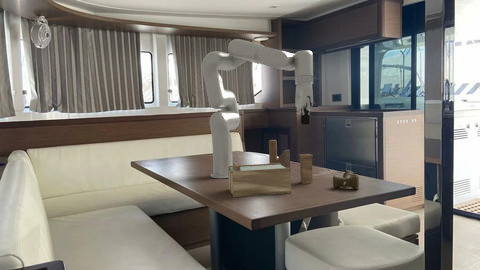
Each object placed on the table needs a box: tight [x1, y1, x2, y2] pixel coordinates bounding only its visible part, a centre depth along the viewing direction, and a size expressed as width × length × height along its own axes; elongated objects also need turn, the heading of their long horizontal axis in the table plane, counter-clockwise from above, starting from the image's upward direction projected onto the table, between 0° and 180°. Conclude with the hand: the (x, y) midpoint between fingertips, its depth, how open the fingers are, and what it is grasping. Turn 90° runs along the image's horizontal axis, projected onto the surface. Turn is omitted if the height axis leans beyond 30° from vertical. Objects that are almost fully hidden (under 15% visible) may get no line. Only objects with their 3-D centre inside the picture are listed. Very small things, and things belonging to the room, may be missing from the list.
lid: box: [230, 162, 285, 171], centre depth 144 cm, size 11×21×3 cm, turn 99°
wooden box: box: [228, 163, 292, 198], centre depth 144 cm, size 14×22×10 cm, turn 99°
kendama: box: [332, 170, 360, 191], centre depth 147 cm, size 6×10×20 cm
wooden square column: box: [298, 153, 314, 185], centre depth 158 cm, size 5×5×12 cm
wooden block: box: [268, 139, 291, 169], centre depth 164 cm, size 4×11×18 cm, turn 40°
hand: (305, 124), depth 156 cm, fingers closed
